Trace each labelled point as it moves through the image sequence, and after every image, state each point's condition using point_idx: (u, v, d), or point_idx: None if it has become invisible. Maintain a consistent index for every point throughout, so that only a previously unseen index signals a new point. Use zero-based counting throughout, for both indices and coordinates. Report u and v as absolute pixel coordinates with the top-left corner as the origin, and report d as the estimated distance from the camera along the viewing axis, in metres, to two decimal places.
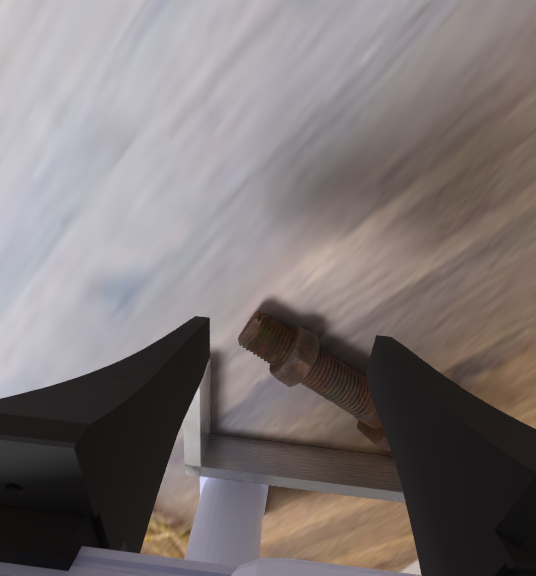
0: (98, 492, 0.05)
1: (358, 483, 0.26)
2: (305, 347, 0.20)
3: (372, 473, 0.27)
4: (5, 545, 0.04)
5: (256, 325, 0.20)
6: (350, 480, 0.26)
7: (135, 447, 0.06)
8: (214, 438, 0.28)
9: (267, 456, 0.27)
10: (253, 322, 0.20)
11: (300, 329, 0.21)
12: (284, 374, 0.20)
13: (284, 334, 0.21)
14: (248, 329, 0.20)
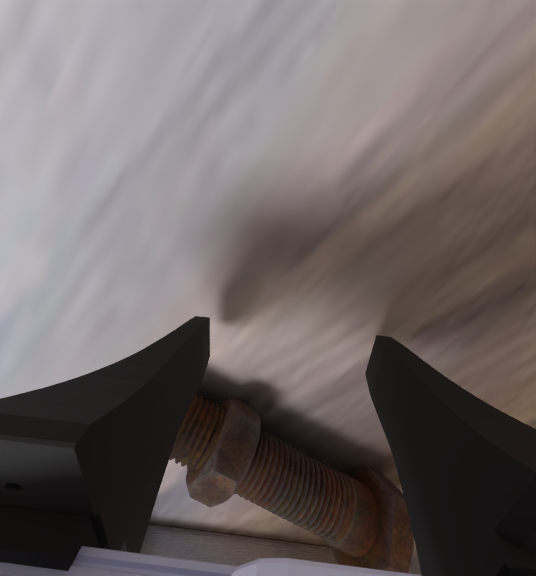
0: (98, 492, 0.05)
1: None
2: (231, 447, 0.12)
3: None
4: (5, 545, 0.04)
5: None
6: None
7: (135, 447, 0.06)
8: None
9: (208, 560, 0.20)
10: None
11: (230, 411, 0.14)
12: (198, 491, 0.12)
13: (203, 422, 0.13)
14: None
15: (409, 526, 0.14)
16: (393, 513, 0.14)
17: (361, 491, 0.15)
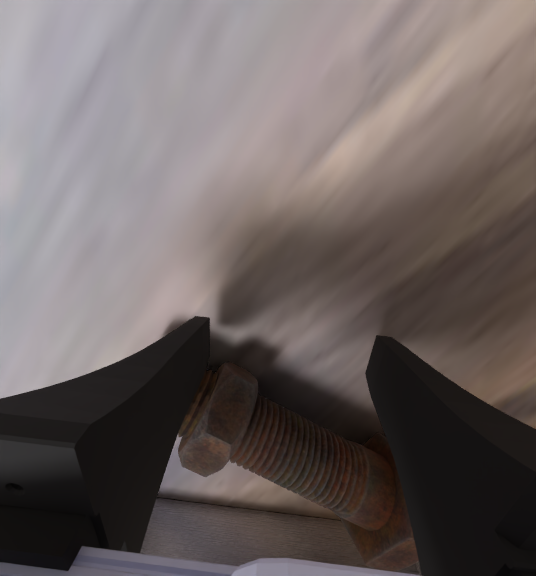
0: (99, 492, 0.05)
1: None
2: (224, 408, 0.11)
3: None
4: (5, 545, 0.04)
5: None
6: None
7: (135, 447, 0.06)
8: None
9: (208, 533, 0.18)
10: None
11: (223, 372, 0.12)
12: (190, 459, 0.11)
13: None
14: None
15: None
16: None
17: (374, 458, 0.13)
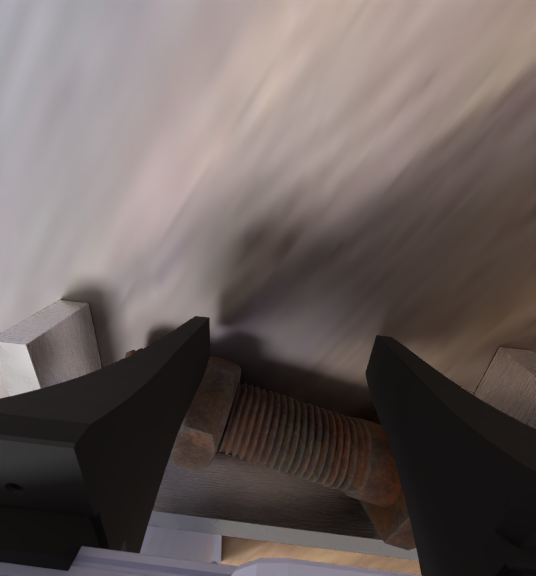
0: (97, 492, 0.05)
1: (365, 530, 0.14)
2: (202, 399, 0.11)
3: None
4: (5, 545, 0.04)
5: None
6: (351, 525, 0.14)
7: (135, 447, 0.06)
8: None
9: (207, 479, 0.16)
10: None
11: None
12: (179, 455, 0.11)
13: None
14: None
15: None
16: None
17: (377, 431, 0.13)
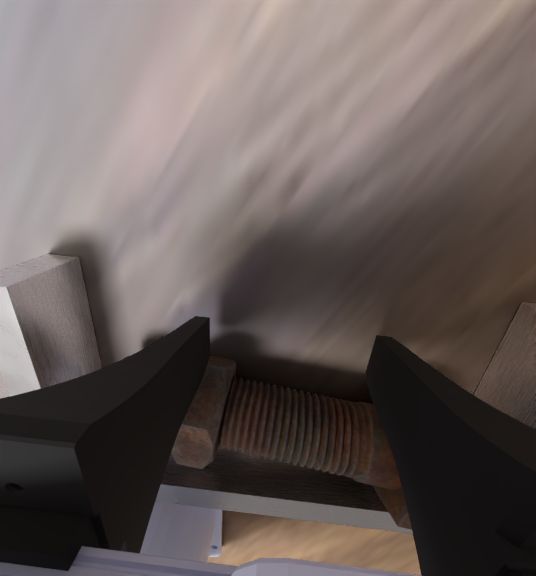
0: (98, 492, 0.05)
1: (376, 503, 0.13)
2: (196, 396, 0.11)
3: None
4: (5, 545, 0.04)
5: None
6: (361, 497, 0.13)
7: (135, 447, 0.06)
8: None
9: None
10: None
11: None
12: (180, 453, 0.11)
13: None
14: None
15: None
16: None
17: None
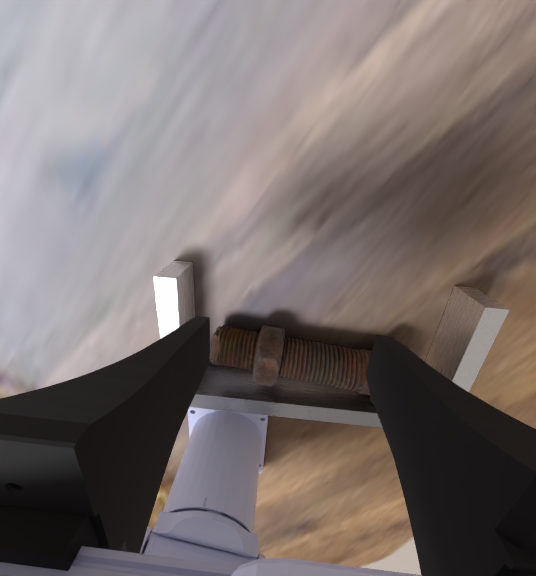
0: (98, 492, 0.05)
1: (371, 409, 0.22)
2: (267, 343, 0.20)
3: None
4: (5, 545, 0.04)
5: (217, 340, 0.21)
6: (361, 406, 0.22)
7: (135, 447, 0.06)
8: None
9: None
10: (213, 339, 0.21)
11: (262, 327, 0.21)
12: (259, 376, 0.20)
13: (247, 338, 0.21)
14: (212, 347, 0.21)
15: None
16: None
17: None
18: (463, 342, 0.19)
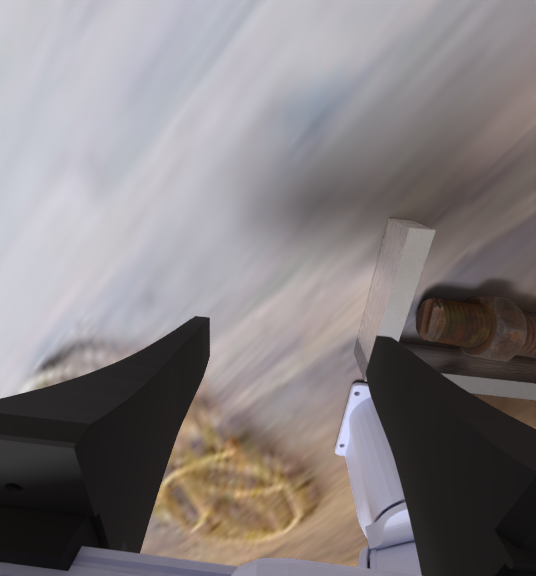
0: (99, 492, 0.05)
1: None
2: (506, 314, 0.18)
3: None
4: (5, 545, 0.04)
5: (439, 313, 0.18)
6: None
7: (135, 447, 0.06)
8: None
9: (463, 360, 0.21)
10: (434, 311, 0.19)
11: (484, 298, 0.19)
12: (497, 351, 0.18)
13: (472, 310, 0.19)
14: (432, 320, 0.19)
15: None
16: None
17: None
18: None
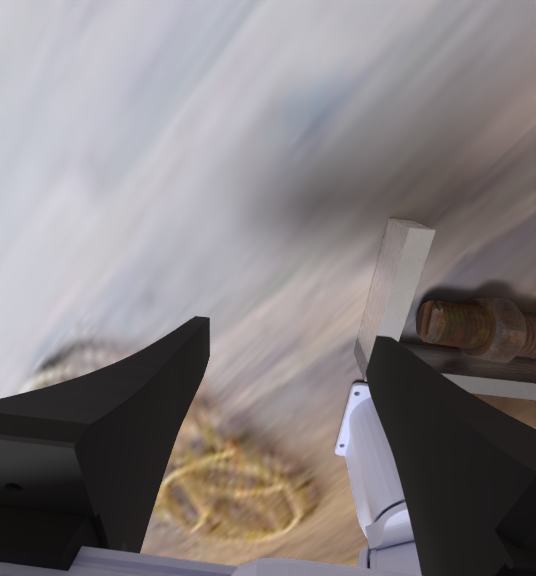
0: (99, 492, 0.05)
1: None
2: (506, 315, 0.18)
3: None
4: (5, 545, 0.04)
5: (439, 315, 0.19)
6: None
7: (135, 447, 0.06)
8: None
9: (463, 360, 0.21)
10: (434, 313, 0.19)
11: (484, 300, 0.19)
12: (497, 352, 0.18)
13: (472, 312, 0.19)
14: (432, 322, 0.19)
15: None
16: None
17: None
18: None
